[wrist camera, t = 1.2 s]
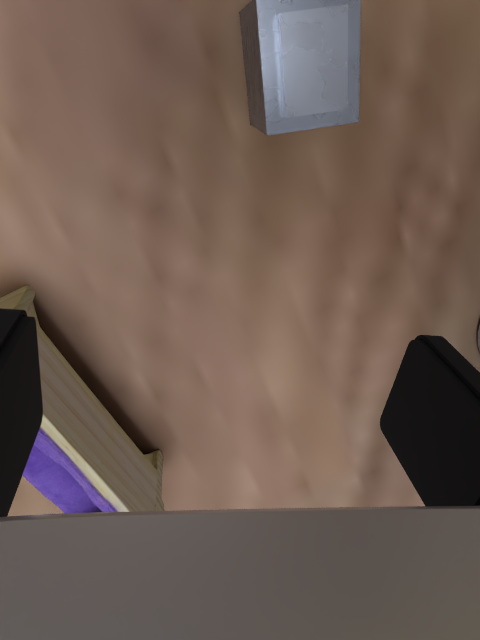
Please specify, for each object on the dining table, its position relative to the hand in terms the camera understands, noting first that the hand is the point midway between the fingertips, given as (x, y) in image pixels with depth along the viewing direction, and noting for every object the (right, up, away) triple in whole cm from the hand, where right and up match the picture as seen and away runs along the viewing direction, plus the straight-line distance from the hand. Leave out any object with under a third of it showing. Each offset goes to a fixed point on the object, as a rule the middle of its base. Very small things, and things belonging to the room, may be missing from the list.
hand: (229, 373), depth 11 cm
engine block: (+3, +17, +16) cm, 24 cm away
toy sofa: (-15, -5, +26) cm, 30 cm away
